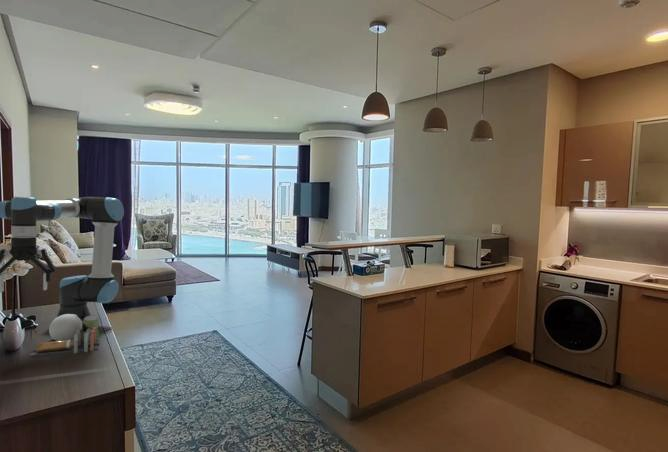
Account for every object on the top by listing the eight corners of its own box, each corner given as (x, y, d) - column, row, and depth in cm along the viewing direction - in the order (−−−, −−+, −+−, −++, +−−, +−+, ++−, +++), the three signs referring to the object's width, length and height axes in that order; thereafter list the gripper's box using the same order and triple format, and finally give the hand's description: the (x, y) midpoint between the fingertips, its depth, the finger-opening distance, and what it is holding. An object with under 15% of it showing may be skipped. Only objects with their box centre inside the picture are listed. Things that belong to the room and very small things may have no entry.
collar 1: (77, 345, 159) (77, 328, 159) (81, 345, 160) (81, 328, 160) (73, 353, 151) (74, 335, 151) (77, 352, 152) (77, 335, 152)
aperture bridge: (93, 344, 161) (93, 326, 161) (95, 344, 162) (96, 326, 162) (90, 351, 154) (90, 332, 154) (93, 350, 155) (93, 332, 154)
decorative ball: (86, 340, 168) (87, 314, 167) (54, 348, 158) (55, 320, 157) (76, 334, 175) (76, 309, 174) (44, 341, 165) (45, 314, 164)
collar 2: (87, 344, 161) (87, 328, 161) (90, 344, 162) (90, 327, 161) (84, 352, 153) (84, 334, 153) (87, 351, 153) (87, 334, 153)
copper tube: (35, 354, 148) (36, 344, 148) (38, 352, 152) (38, 342, 152) (72, 350, 153) (72, 340, 154) (74, 348, 157) (74, 338, 157)
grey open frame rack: (34, 352, 153) (34, 348, 153) (99, 345, 163) (100, 341, 163) (27, 360, 145) (27, 356, 145) (97, 353, 155) (97, 348, 155)
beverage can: (96, 339, 170) (97, 313, 170) (100, 343, 165) (101, 317, 164) (80, 342, 166) (80, 315, 165) (84, 347, 161) (84, 319, 160)
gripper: (-23, 237, 136) (-23, 295, 137) (61, 237, 148) (60, 290, 149) (-15, 235, 143) (-15, 290, 144) (64, 236, 154) (64, 286, 155)
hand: (23, 290), depth 146 cm, fingers open, 13 cm apart
